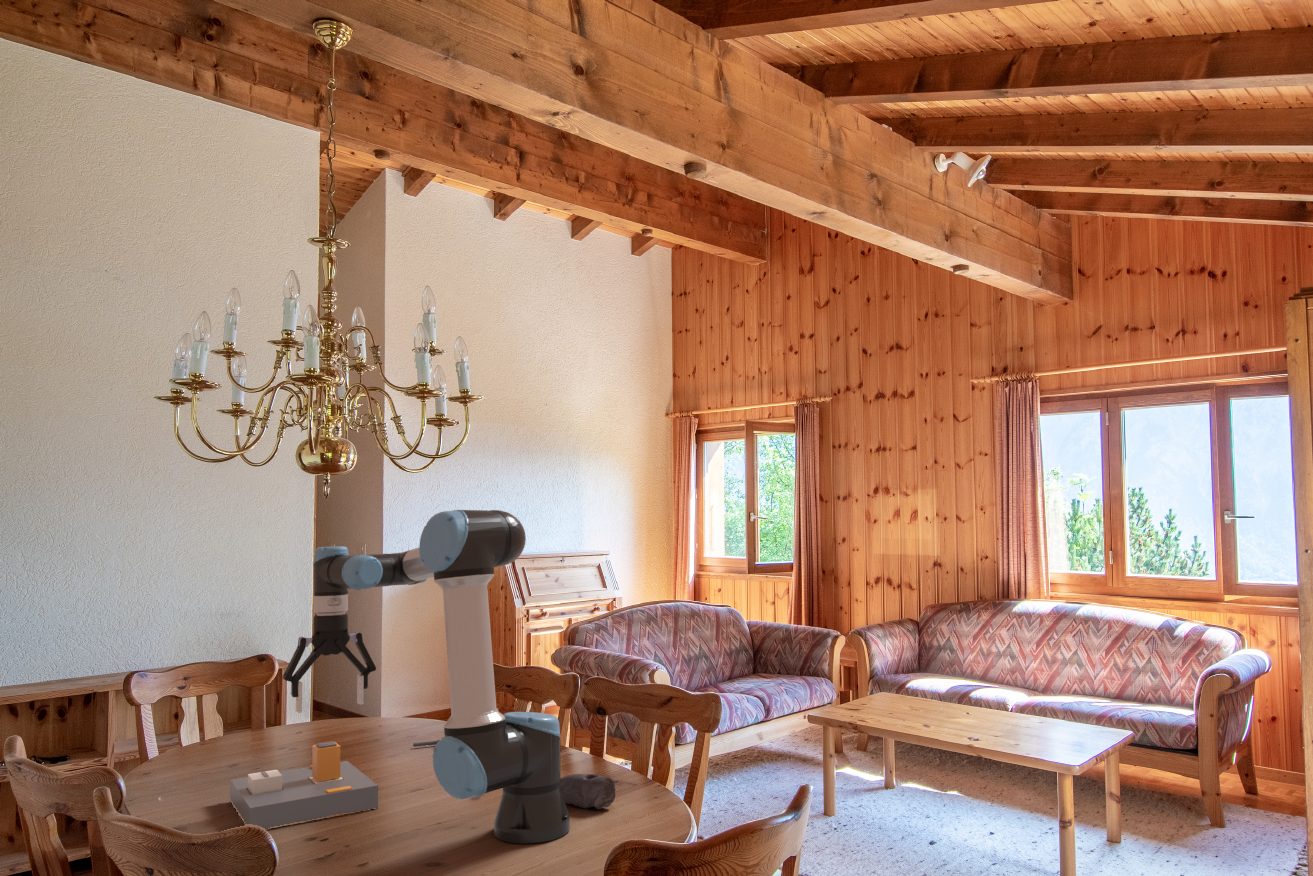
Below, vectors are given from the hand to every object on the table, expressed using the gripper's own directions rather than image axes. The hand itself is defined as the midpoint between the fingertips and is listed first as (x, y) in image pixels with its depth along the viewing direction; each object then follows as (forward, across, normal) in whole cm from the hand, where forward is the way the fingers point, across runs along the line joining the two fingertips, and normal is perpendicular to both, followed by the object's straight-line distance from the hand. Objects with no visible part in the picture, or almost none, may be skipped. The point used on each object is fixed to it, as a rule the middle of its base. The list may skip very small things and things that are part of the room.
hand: (330, 707), depth 207 cm
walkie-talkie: (+21, +40, +30) cm, 55 cm away
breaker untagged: (+18, -14, 0) cm, 22 cm away
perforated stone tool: (+21, +44, -39) cm, 62 cm away
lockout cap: (+15, -1, 0) cm, 15 cm away
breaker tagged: (+21, -1, 0) cm, 21 cm away
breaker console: (+21, -6, 0) cm, 21 cm away
